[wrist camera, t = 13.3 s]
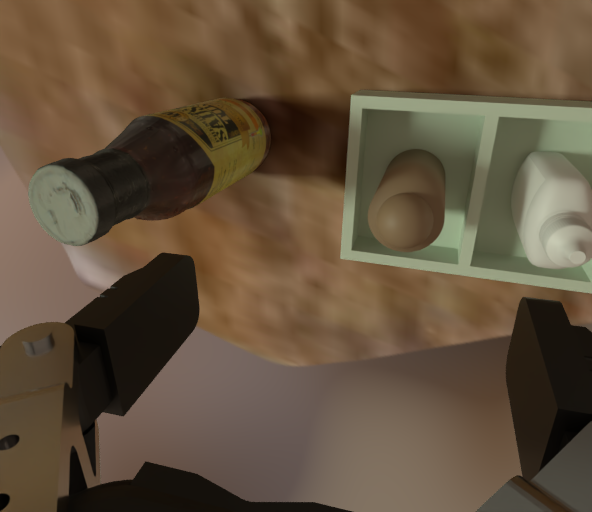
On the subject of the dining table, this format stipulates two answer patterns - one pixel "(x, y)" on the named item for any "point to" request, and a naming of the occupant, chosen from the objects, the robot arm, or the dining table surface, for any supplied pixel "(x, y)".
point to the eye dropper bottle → (552, 211)
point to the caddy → (453, 181)
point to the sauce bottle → (151, 169)
